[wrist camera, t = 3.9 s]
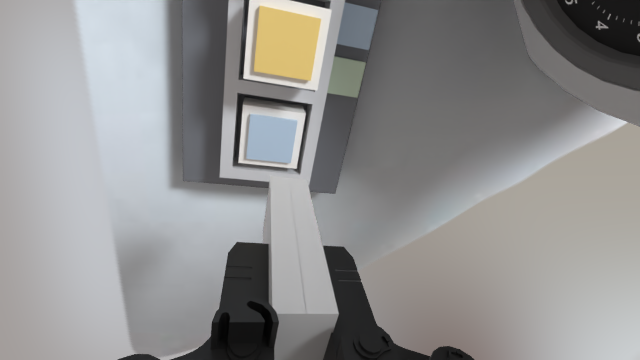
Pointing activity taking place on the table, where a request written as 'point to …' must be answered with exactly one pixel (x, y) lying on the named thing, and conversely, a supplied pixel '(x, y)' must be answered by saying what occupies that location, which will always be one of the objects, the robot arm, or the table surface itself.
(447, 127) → the table surface
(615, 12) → the alarm clock
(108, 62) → the table surface
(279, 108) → the key blue
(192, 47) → the keypad
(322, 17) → the key ochre
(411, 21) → the table surface
